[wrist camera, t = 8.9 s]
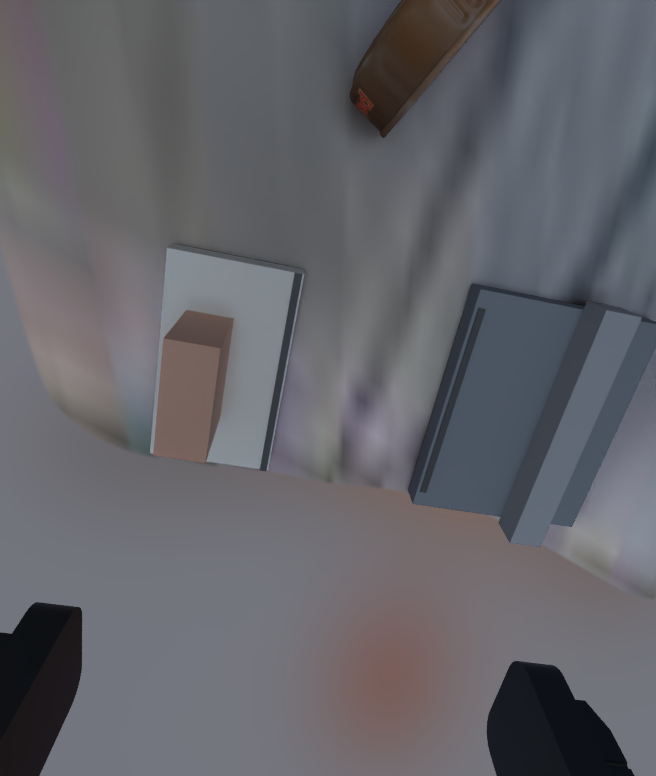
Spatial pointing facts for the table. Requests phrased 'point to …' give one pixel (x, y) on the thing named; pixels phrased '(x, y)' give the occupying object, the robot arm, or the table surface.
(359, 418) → the table surface
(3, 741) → the robot arm
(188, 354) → the white plate with block
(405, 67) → the tin
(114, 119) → the table surface
